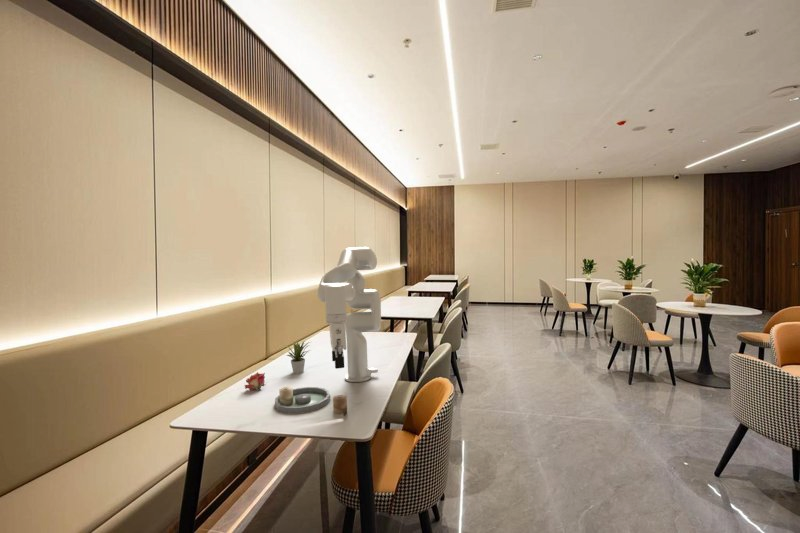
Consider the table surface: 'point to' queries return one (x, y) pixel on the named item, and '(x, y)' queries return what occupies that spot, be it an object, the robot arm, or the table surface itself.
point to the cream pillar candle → (286, 396)
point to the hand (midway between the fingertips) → (338, 364)
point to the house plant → (298, 357)
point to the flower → (255, 381)
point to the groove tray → (305, 400)
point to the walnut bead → (340, 404)
